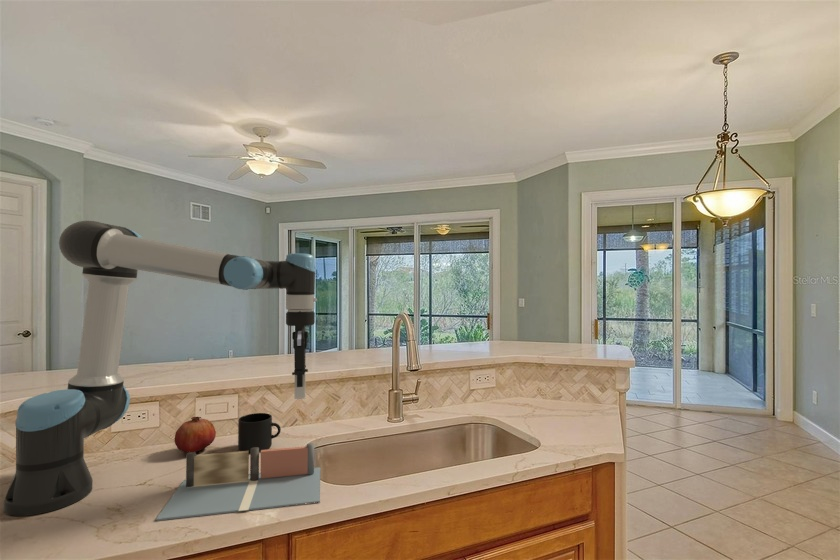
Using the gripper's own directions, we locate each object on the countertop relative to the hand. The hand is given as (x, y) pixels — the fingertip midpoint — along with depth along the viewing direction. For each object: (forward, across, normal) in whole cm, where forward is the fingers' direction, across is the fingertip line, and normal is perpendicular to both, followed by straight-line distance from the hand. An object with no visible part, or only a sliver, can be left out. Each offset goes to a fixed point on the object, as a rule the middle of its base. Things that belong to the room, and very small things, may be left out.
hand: (300, 397), depth 114 cm
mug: (+19, +16, +12) cm, 28 cm away
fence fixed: (+18, -7, +18) cm, 26 cm away
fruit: (+19, +18, +30) cm, 40 cm away
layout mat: (+18, -12, +11) cm, 25 cm away
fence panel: (+18, -6, +3) cm, 19 cm away
